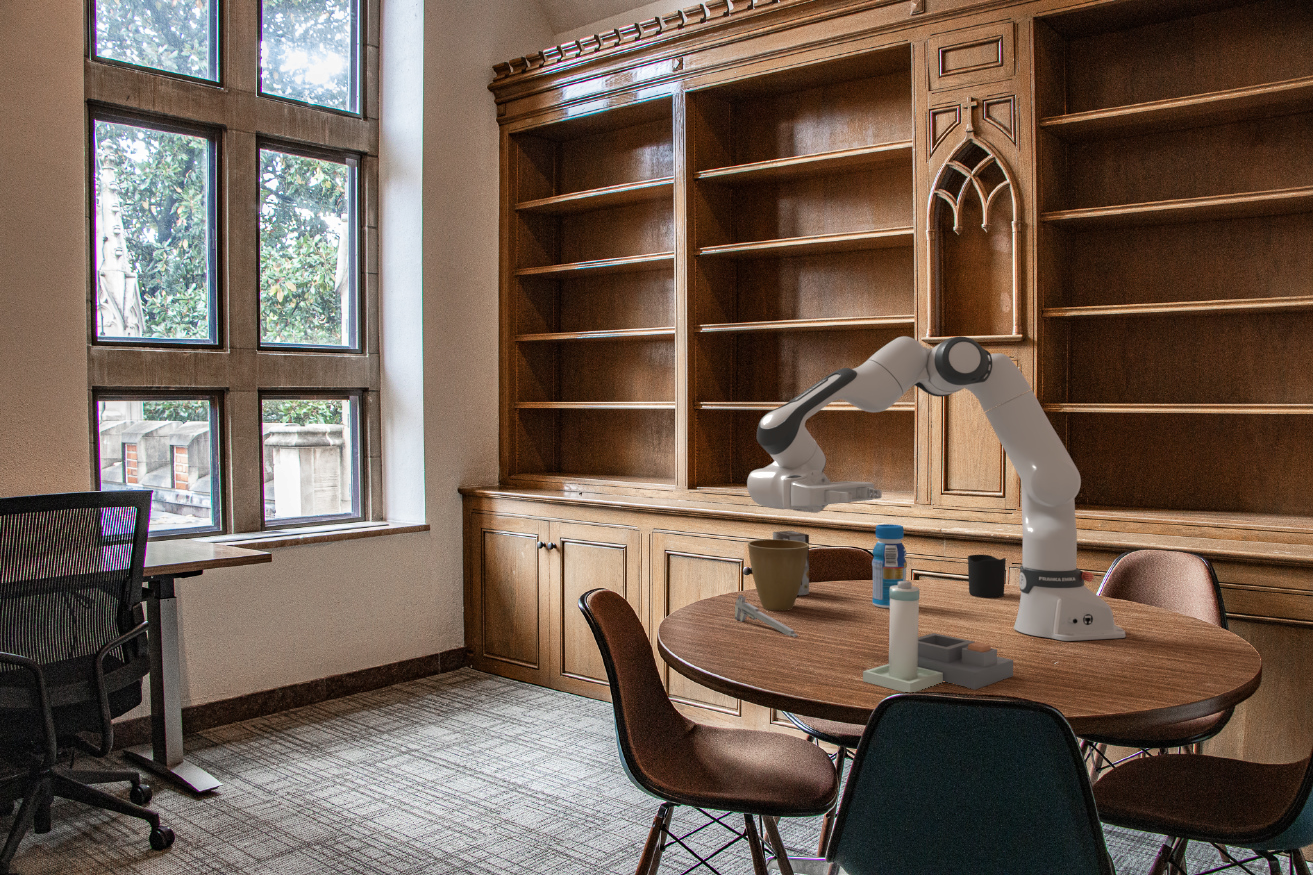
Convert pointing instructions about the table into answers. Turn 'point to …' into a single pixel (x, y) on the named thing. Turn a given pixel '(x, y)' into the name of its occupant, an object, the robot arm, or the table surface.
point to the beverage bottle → (887, 562)
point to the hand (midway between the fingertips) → (865, 495)
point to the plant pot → (778, 571)
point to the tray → (882, 679)
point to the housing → (962, 661)
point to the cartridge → (903, 631)
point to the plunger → (979, 647)
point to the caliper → (758, 616)
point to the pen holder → (986, 576)
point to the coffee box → (805, 538)
